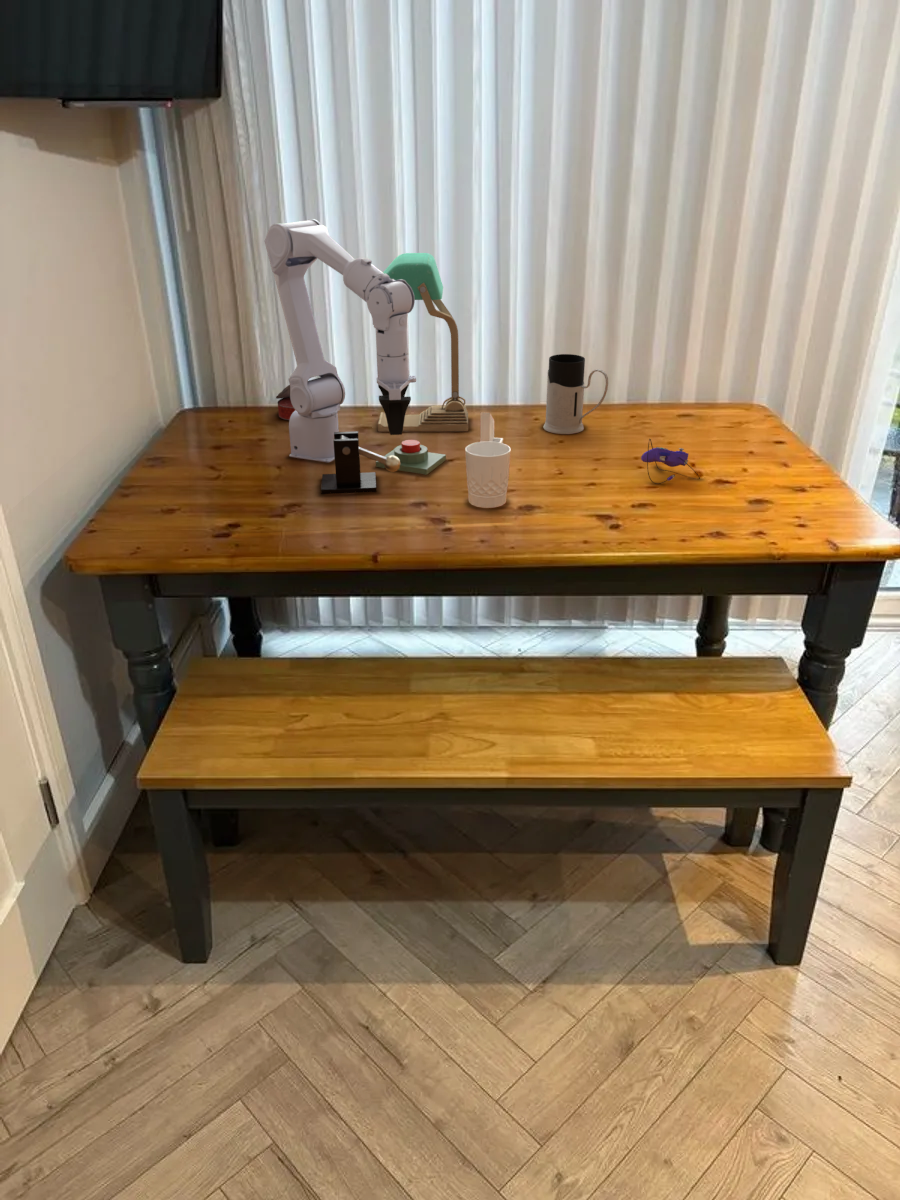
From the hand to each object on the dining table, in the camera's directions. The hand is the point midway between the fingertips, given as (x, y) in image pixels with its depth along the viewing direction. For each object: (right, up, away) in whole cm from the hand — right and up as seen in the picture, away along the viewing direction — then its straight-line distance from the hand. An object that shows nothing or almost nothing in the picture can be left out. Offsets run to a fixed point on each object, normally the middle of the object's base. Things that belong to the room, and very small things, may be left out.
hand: (395, 427), depth 174 cm
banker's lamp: (+4, +6, +34) cm, 35 cm away
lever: (-5, -6, 0) cm, 8 cm away
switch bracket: (-9, -11, +2) cm, 14 cm away
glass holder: (+37, +5, +30) cm, 48 cm away
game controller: (+52, -9, +5) cm, 53 cm away
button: (+2, -3, +11) cm, 11 cm away
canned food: (-24, +11, +42) cm, 50 cm away
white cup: (+17, -14, -5) cm, 23 cm away
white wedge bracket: (+18, -3, +16) cm, 24 cm away
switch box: (+2, -5, +12) cm, 13 cm away
